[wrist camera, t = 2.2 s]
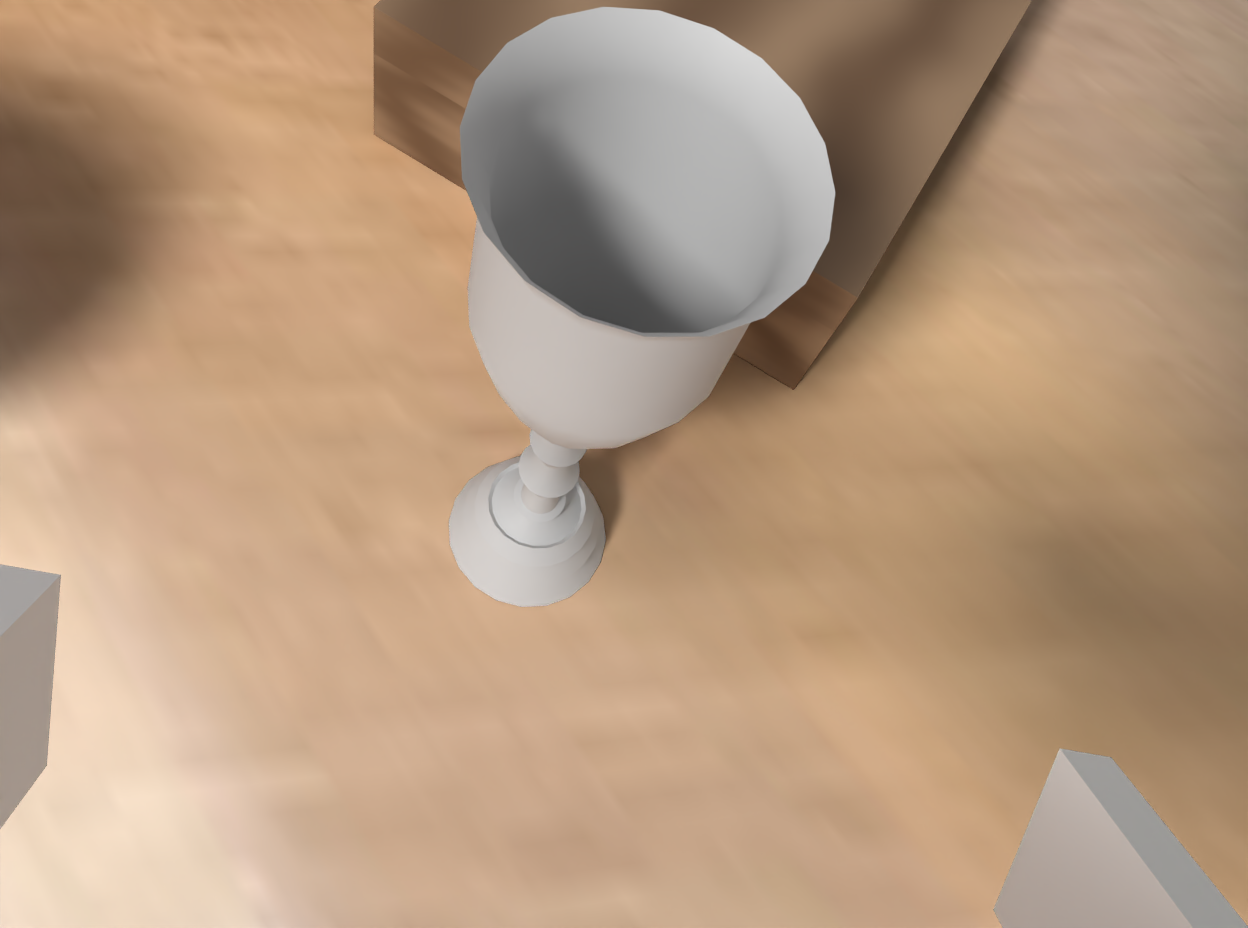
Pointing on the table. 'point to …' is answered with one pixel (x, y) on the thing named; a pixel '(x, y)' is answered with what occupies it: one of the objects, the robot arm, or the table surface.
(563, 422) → the chalice
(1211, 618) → the table surface
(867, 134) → the walnut shelf
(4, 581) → the robot arm
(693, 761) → the table surface
